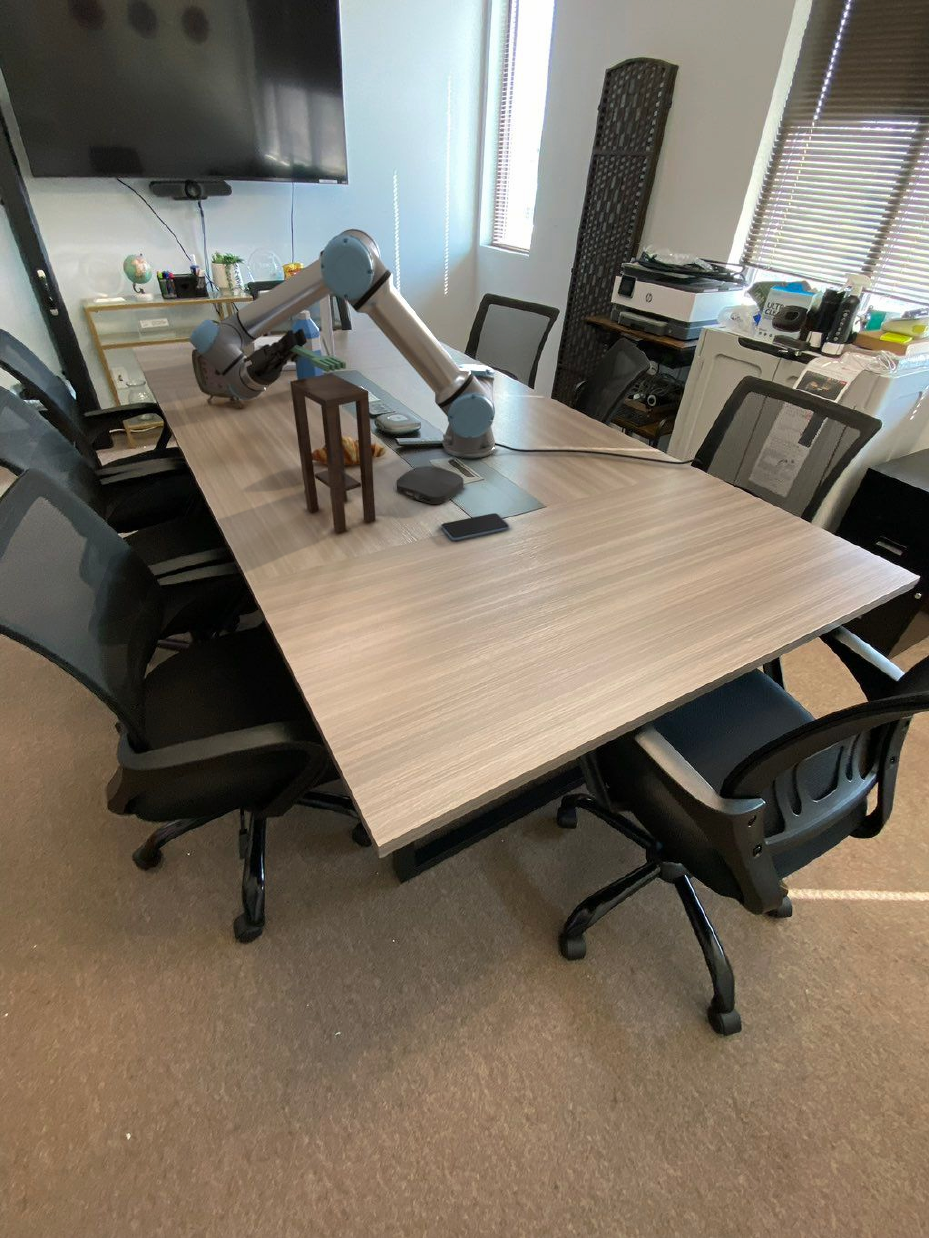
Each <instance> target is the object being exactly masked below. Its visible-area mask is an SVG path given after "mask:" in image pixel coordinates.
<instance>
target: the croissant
mask: <svg viewBox="0 0 929 1238" xmlns="http://www.w3.org/2000/svg"><path fill="white" fill-rule="evenodd" d="M342 445H343V456H344V467H346V466H356V465H360V458H359V444H358V439H355V440H354V439H353V438H352V437H350V436H347V435H346V436H344V435H342ZM371 449H372V460H374V459H375V458H380V457H382V456H384V455H385V454H386V453H387V448H386V447H383V446H381V445H380V444H378V443H377V442H374V443H371ZM312 459H313V462H314V461H315V462H318V463H322V464H324V465H326V466H327V456H326V447H325V444H324V445H323V447H322V448H320V447H318V448H316V449H314V450H313V451H312Z"/></svg>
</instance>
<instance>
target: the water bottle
mask: <svg viewBox="0 0 929 1238" xmlns="http://www.w3.org/2000/svg"><path fill="white" fill-rule="evenodd" d="M296 316H297V318H296V320H295V322H294V324H293V325H292V328H291V330H293V333H296V332H297V331H298V330H299V329H303V332H304V335H305V337H306V340H307V343H305V344H304V345H303V346H304V348H305V349H307V350H309V351H311V352H314V353H316V354H318V355H320V356H321V346H320V336H321V335H320V329H319V326H317V324H316V323H315V322H314V321H313V319H312V318H311V313H310V310H307V309H305V310H304V311H302V312H300V313H299V314H297V315H296ZM298 360H299V361H298V362H297V363H296V370H295V371H296V380H300V379H305V378H310V377H315V376H320V375H324V370H322V369H320V368H318V367H315V366H313V365H311V360H309V359H307V358H305V357H303V356H301V357H300V358H299V359H298Z"/></svg>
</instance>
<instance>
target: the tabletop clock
mask: <svg viewBox="0 0 929 1238" xmlns="http://www.w3.org/2000/svg"><path fill="white" fill-rule="evenodd" d="M210 320H211V321H213V322H214V323H215V324H216V325H218V324H219V323H221V321H220V322H219V321H218V320H215V319H210ZM240 351H241V352H242V353H243V354H244V355H245V356H246V353H245V351H244V348H242V349H241V350H240ZM191 362H192V368H193V372H194V376H195V379H196V383H197V385H198V388H199V389H200V391H201V392H202V393H203V394H205V395H207V396H209V398H207V399H206V402H207V404H208V405H211V404H212V403H213V398H214V397H216V398H220V399H221V398H224V399H226V398H227V399H229V401H230V402H231V403H234V402H235V401H236V402H237V404H236V407H237V408H238V409H242V408H243V404H242V403H241V402H240V399H238V398H237V397H235V396H234V395H233V394H232V393H231V391H230V389H229V386H228V381H227V380H226V379H225V378H224V376H223V375H222V374H221V373H220V372H219V371H218V370H217V369H216V368H215V367H214V366H213V365H212V364H211V363H210V362H209V361H208V360H207V359H205V358H204V357H203V356H202V355H201V354H200V353H199V352H198V350H197V349H196V348H195V349H193V350H192V351H191Z"/></svg>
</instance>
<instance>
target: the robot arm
mask: <svg viewBox="0 0 929 1238" xmlns="http://www.w3.org/2000/svg"><path fill="white" fill-rule="evenodd" d="M331 294H334V295H335V296H337V297H339V298H340V299H343V300H345V301H346V302H347V303H348V304H349V305H350V306H351V308H352V309H353V310H354V311H355V312H356V313H358V314H366V315H367V316H368V317H369V318H370V319H371V320H372V322H373V323H374V324H375V325H376V326H377V328H378V329H379V330H380V331H381V332H382V334H384V336H385V337H386V338H387V339H388V340H389V342H390V343H391V344H392V345H393V346H394V348H395V349H396V350H397V351H398V352H399V353H400V354H401V355H402V357H403V358H404V360H406V361H407V362H408V364H409V365H410V366H411V367H412V368H413V369H414V371H415V372H416V373H417V375H419V376H420V378H421V379H422V380H423V381H424V382H425V383H426V384H427V386H428V387H429V388H430V389H431V390H432V391H433V393H434V403H435V404H436V405H437V406H438V407H439V409H440V410H441V411H442V412H443V413H444V414H445V416H446V417H447V422H448V426H447V427H446V431H445V434H442V438H443V439H442V450H443V451H444V452H445V453H447V455H450V456H452V457H455V458H459V459H466V460H467V459H468V460H469V459H470V460H476V459H483V458H486V457H489V456H491V455H493V454H494V452H495V451H496V447H500V448H503V449H506V450H508V451H509V450H510V451H513V452H520V453H578V454H579V453H580V454H593V455H603V456H611V457H612V456H613V457H619V458H627V459H634V460H640V461H641V460H642V461H649V462H656V463H662V464H669V465H687V464H690V463H695V462H696V463H698V464H699V465H703V463H702V461H701V460H700V459H697V458H692V459H689V460H685V461H673V460H672V461H671V460H663V459H657V458H651V457H643V456H637V455H630V454H628V455H627V454H621V453H614V452H606V451H596V450H584V449H583V450H582V449H525V448H524V449H523V448H514V447H510V446H507V445H505V444H501V443H497V442H496V439H495V436H494V432H493V428H492V425H493V423H494V419H495V415H496V409H495V403H494V381H495V371H494V369H493V368H492V367H490V366H486V365H482V364H481V365H480V364H457V363H456V361H455V360H454V359H453V358H452V357H451V356H450V354H449V352H448V351H447V350H446V349H445V347H443V345H442V344H441V343H440V342H439V341H438V339H437V338H436V337H435V335H433V333H432V332H431V331H430V330H429V328H428V327H427V326H426V325H425V323H424V322H423V320H421V318H420V317H419V316H418V315H417V314H416V312H415V311H414V310H413V309H412V308H411V306H410V305H409V304H408V302H407V301H406V300H405V299H404V298H403V297H402V295H401V294H400V293H399V292H398V290H397V289H396V287H394V275H393V273H392V272H391V271H390V269H389V268H388V267H387V266H386V265H385V263H384V262H383V261H382V256H381V251H380V248H379V245H378V243H377V242H376V241H375V239H374V238H373V237H372V236H371V235H370V234H369V233H368V232H366V231H364V230H362V229H358V228H349V229H346V230H344V231H342V232H340V233H339V234H338V235H335V236H334V237H333V238H331V240H329V241H328V242H327V244H326V246H325V247H324V249H323V250H321V251H320V252H319V255H318V258H317V259H316V260H314V261H313V262H312V263H310V264H309V265H307V266H306V267H304V268H302V269H301V270H299V271H298V272H296V273H294V274H292V275H291V276H290V277H289V278H287V279H286V280H284V281H282V282H280V283H279V284H277V285H276V286H274V287H273V288H271V289H270V290H268V291H267V292H265V293H263V294H262V295H261V296H259V297H257V298H255V299H254V300H253V301H251V302H250V303H248V304H247V305H245V306H244V307H242V308H240V309H239V310H238V311H236V312H234V313H233V314H230V315H228V316H226V317H225V318H224V319H222V321H220V323H219V324H217V323H214V322H213V321H211V320H212V319H209V318H206V319H204V321H202V322H201V323H200V324H199V325H198V326H197V327H196V328H195V329H194V330H193V331H192V332H191V334H190V335H189V338H188V340H189V343H190V344H191V345H192V346H193V347H194V348H195V349H197V350H198V352H199V353H200V354H201V355H202V356H203V357H204V358H205V359H207V360H208V361H209V362H210V363H211V364H212V365H213V366H214V367H215V368H216V369H217V370H218V371H219V372H220V373H221V374H222V375H223V376H224V378H225V379H226V380H227V381H228V386H229V389H230V391H231V393H232V394H233V395H234V396H235V397H234V398H236V397H237V398H238V399H239V400H241V401H250V400H252V399H255V398H257V397H258V396H259V395H261V393H264V392H266V391H267V389H268V387H269V386H271V385H272V384H274V383H275V382H276V381H277V380H278V379H279V378H280V377H281V375H282V371H283V370H282V368H283V366H284V365H286V364H287V361H290V360H291V362H294V363H297V362H298V361H299V360H298V359H299V358H300V357H301V355H299V354H297V353H295V352H293V351H291V349H292V348H293V347H294V346H295V345H299V346H301V347H303V348H304V346H303V345H304V344H305V343H307V340H306V337H305V335H304V332H303V329H299V330H298V331H297V332H296V333H293V330H292V329H291V330H288V331H287V332H286V333H285V334H284V335H283V336H281V337H282V338H281V339H280V340H279V341H278V342H274V343H273V344H272V345H271V346H269V344H266V345H264V346H263V347H261V348H260V349H258V350H256V351H255V350H254V351H253V352H252V353H251V354H250V355H249V356H246V354H245V355H244V354H243V353H242V352H241V351H240V350H241V349H244V348H245V347H247V346H248V345H250V344H252V343H254V341H255V340H256V339H258V338H259V337H264V335H267V334H268V333H270V332H271V331H273V330H274V329H276V328H277V327H279V326H281V325H282V324H284V323H286V322H288V321H289V320H290V319H292V318H294V317H295V316H297V314H299V313H300V312H302V311H304V310H307V309H308V308H310V307H312V306H314V305H315V304H316V303H319V301H320V300H322V299H323V298H325V297H326V296H328V295H329V296H330V295H331Z"/></svg>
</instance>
